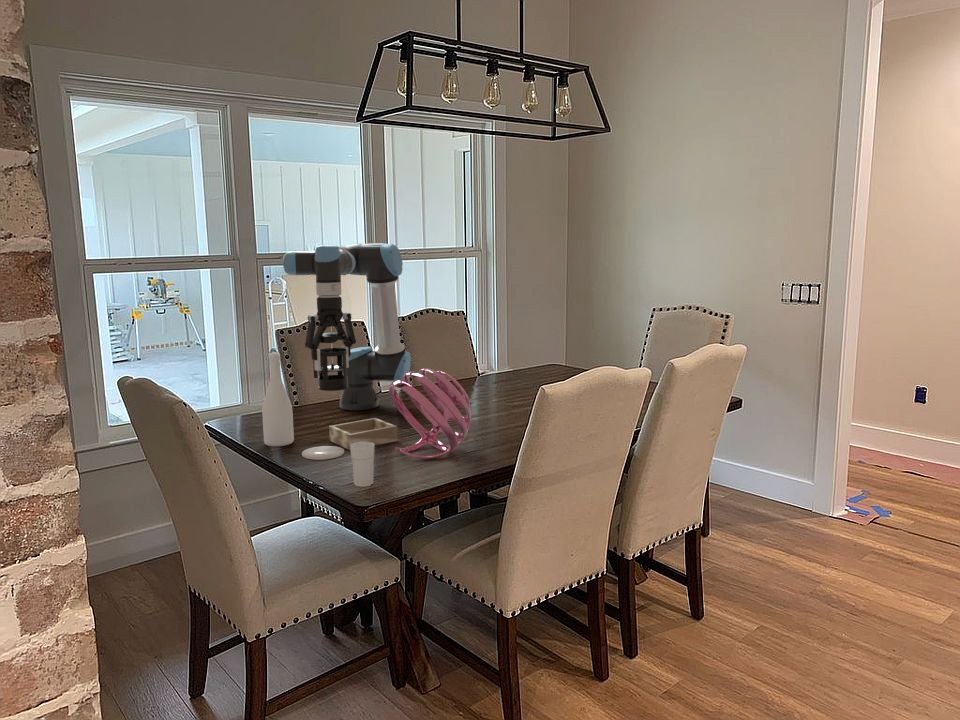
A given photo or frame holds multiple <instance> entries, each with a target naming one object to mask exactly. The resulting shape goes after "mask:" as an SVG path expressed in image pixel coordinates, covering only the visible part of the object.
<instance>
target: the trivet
mask: <svg viewBox="0 0 960 720" xmlns="http://www.w3.org/2000/svg"><path fill="white" fill-rule="evenodd" d="M343 455H345V448H344V447H341V446H335V445H321V446H313V447H310V448H307V449H304V450H302V452H301V457H302V458H303V459H304V458H305V459H307V460H313V461H323V460H331V459H336V458H339V457H341V456H343Z"/></svg>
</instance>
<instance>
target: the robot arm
mask: <svg viewBox="0 0 960 720" xmlns="http://www.w3.org/2000/svg"><path fill="white" fill-rule="evenodd" d="M402 257H403V256H402V254H401V251H400V249H399V247H398V246H397V245H396V244H394V243H384V242H383V243H380V242H378V243H353V244H347V245H341V246H338V245H318V246H316V247H315V248H314V250H308V251H304V250H303V251H295V250H294V251H287V252H285V254H284V255H283V257H282V266H283V270H284V273H286V275H290V276H315V284H316V285H315V288H316V289H315V290H316V296H318V297H316V309H317V313H316V314H314V315H308V316H307V321H308V324H307V325H308V326H307V331H306V337H305V343H304V347H305V348H307V349H309V350H310V351H311V352H310V354H311V360H312V361H313V360H314V365H313V367H314V366H315V370H317V371H318V372H319V371H321V362H320V350H319V349H318V348H319V346H320V344H321V343H320V341H321V337H319V336H323V334H324V333H325V331H326V330H327V328H331V326H332V327H334V329H336V332H338V333H342V334H346V336H345V340H341V341H342V344H343V345H341V348H344V349H347V354H346V370H347V377H348V386H349V387H348V388H347V389H344V390H342V392H341V396H340V398H339V399H340V400H339V408H340V409H342V410H346V411H364V410H365V411H366V410H372V409H375V408H377V407H378V406H379V398H378V396H377V393H376V390H375V387H374V382H391V383H393V382H394V381H396V380H401V381H402V376H403V375H404V374H405V373H407V372H410V371H411V364H412V356H411V352H409V351H406V347H405V345H404V344H403V343H401V337H400V327H399V326H400V325H399V314H398V306H397V305H398V304H397V293H396V282H397V281H398V280H399V276H401V275H402V273H403V265H404V263H403V258H402ZM346 275H353V276H366V281H367V283H368V284H370V285H371V291H372V301H373V310H374V319H375V330H376V336H377V337H376V338H377V339H376V341H377V345H376V346H375V347H374V350H373V347H371V346H362V347H356V348H355V347H354V348H351V347H352V346H353V345H355V344H356V343H357V339H356V336H355V332H354V331H355V330H354V326H353V323H352V313H350V312H343V310H342V308H343V301H342V300H343V299H342V298H343V297H341V295H342V276H346ZM328 315H336V317H329V316H328ZM326 316H328V317H326ZM342 319H343V322H344V326H343V323H342V322H341V321H342ZM317 322H319V323H318V324H317V325H318V326H316V323H317ZM316 327H317V330H316ZM344 327H345V329H344ZM315 331H316V332H315ZM345 331H346V332H345ZM342 337H344V336H342ZM342 366H343V355H342Z"/></svg>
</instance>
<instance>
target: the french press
mask: <svg viewBox="0 0 960 720" xmlns="http://www.w3.org/2000/svg"><path fill="white" fill-rule="evenodd" d="M328 316H329V317H336V315H328ZM328 316H326V317H328ZM346 335H347V333H346V334H342V333H338V332H337V331H336V332H334V331H333V326H330V332H324V334H323V336H319V337H321V341H320V344H331V345H330V346H331V347H328V348H327V347H326V348H319V349H318V350H320V362H321V371H317V370H315V366H314V360H312V362H313V378H315V379H318V387H317V389H318V390H319V391H325V392H336V391H343V390H344V389H347V388H348V387H349V386H348V377H347V370H346V354H347V349H344V348H342V347H333V344H335V343H336V342H338V341H342V340H345V336H346ZM342 336H344V337H342ZM342 355H343V365H342ZM328 357H331V364H330V365H328V364H329V363H328ZM333 357H336V363H337V365H335V364H334V358H333ZM334 372H337V374H329V373H334Z"/></svg>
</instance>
